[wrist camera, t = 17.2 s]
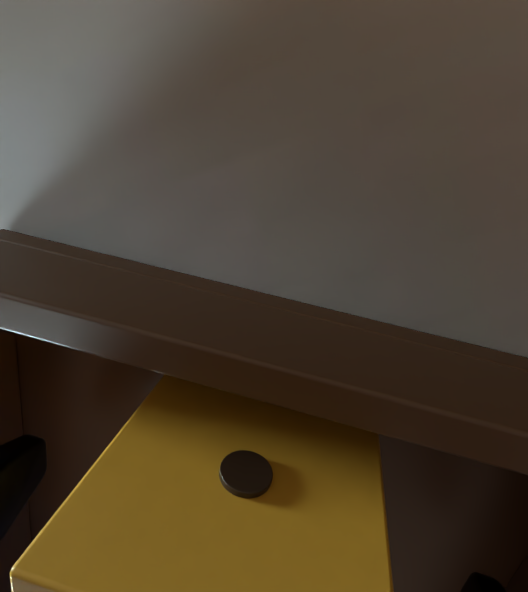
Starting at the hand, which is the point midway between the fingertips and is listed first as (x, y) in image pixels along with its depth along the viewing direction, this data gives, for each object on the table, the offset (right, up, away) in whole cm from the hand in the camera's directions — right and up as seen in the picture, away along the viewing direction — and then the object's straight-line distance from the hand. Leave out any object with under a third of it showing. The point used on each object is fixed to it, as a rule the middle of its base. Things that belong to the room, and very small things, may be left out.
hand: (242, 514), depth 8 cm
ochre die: (0, 0, +1) cm, 1 cm away
